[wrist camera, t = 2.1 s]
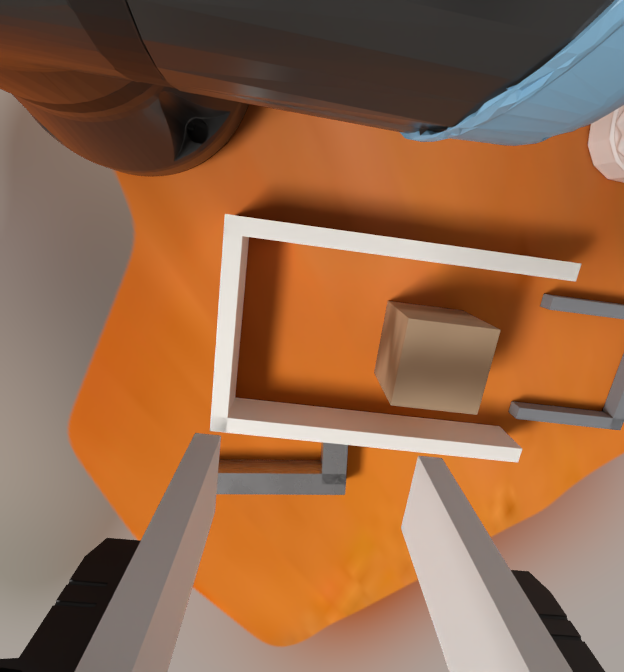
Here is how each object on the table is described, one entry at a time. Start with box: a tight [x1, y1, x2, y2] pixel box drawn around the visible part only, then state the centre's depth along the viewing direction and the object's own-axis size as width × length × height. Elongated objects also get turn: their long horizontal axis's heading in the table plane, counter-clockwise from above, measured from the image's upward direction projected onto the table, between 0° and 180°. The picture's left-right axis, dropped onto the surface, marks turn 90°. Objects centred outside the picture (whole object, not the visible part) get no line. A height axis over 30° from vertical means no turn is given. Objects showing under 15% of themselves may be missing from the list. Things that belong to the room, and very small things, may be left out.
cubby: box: [210, 214, 581, 462], centre depth 29 cm, size 15×24×4 cm, turn 82°
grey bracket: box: [509, 294, 624, 430], centre depth 31 cm, size 10×9×1 cm
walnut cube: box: [374, 301, 501, 415], centre depth 28 cm, size 6×6×6 cm
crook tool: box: [216, 442, 348, 495], centre depth 32 cm, size 5×12×2 cm, turn 88°
